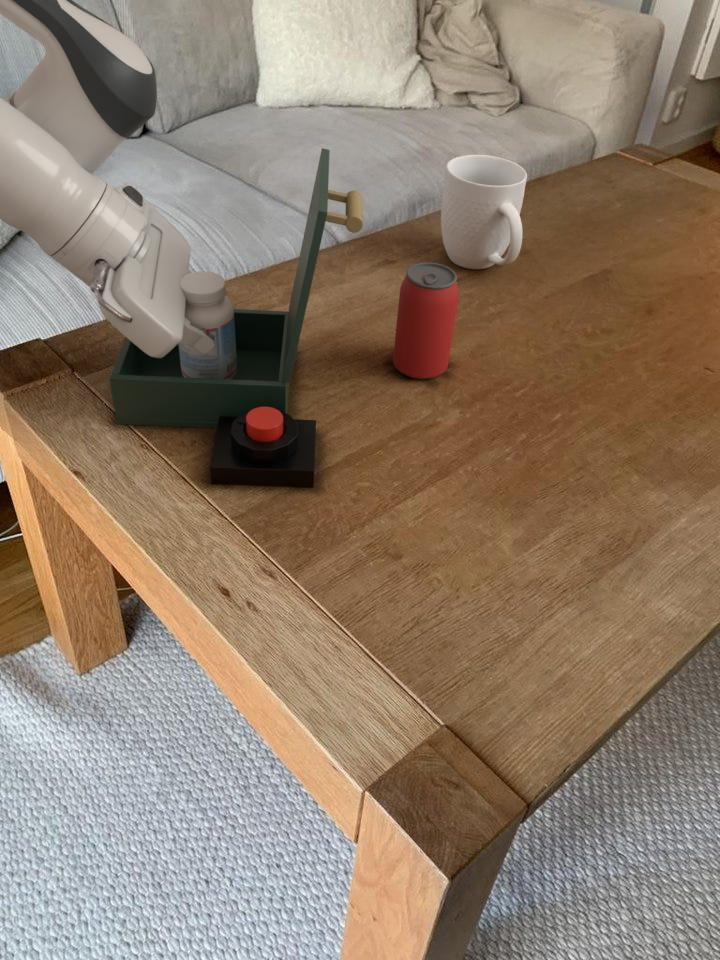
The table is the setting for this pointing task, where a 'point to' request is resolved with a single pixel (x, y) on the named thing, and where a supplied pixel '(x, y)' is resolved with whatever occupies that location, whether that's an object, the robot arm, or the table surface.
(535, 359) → the table surface
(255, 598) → the table surface
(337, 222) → the box lid
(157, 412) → the box
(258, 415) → the button
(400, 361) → the beer can
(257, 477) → the control block
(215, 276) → the pill bottle
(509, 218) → the mug
